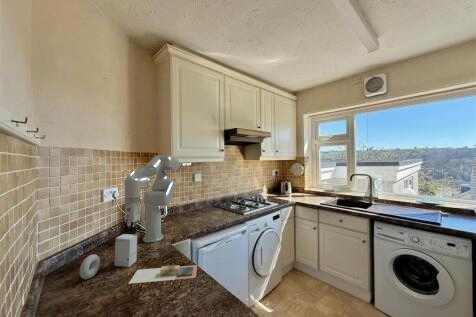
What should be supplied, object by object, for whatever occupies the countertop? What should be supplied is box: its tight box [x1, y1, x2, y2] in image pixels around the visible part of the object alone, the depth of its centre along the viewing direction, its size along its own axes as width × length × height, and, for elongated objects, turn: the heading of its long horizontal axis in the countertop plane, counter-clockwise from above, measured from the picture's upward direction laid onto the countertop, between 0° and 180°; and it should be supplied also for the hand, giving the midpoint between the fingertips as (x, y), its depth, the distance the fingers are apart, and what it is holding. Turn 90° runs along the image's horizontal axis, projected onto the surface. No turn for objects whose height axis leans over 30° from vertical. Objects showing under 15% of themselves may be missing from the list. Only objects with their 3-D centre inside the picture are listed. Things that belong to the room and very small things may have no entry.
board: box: [128, 264, 198, 285], centre depth 88 cm, size 10×28×1 cm, turn 97°
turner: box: [160, 264, 194, 277], centre depth 89 cm, size 14×6×3 cm, turn 97°
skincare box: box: [114, 233, 138, 268], centre depth 97 cm, size 8×6×15 cm
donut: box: [79, 254, 101, 280], centre depth 88 cm, size 10×4×10 cm, turn 178°
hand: (132, 233), depth 106 cm, fingers closed
